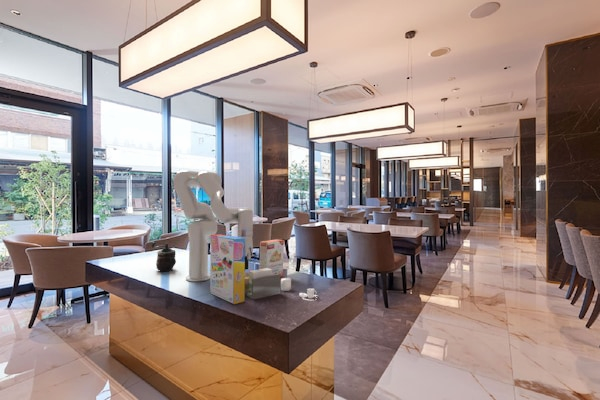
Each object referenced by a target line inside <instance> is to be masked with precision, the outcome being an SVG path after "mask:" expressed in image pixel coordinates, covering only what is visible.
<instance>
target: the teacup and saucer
mask: <svg viewBox="0 0 600 400" xmlns="http://www.w3.org/2000/svg"><path fill="white" fill-rule="evenodd" d="M317 293H318V292H317V291H316V290H315V288H307V289H306V293H305V292H299V294H298V296H299V297H300V298H301V299H302V300H305V301H309V302H310V301H311V302H312V301H313V299H315V300H314V301H317V299H316V298H314V297H316V296H318V295H317Z"/></svg>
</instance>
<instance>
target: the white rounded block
mask: <svg viewBox="0 0 600 400" xmlns="http://www.w3.org/2000/svg"><path fill="white" fill-rule="evenodd" d="M291 290H292V278H291V277H280V291H282V292H288V291H291Z"/></svg>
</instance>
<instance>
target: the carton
mask: <svg viewBox="0 0 600 400" xmlns="http://www.w3.org/2000/svg"><path fill="white" fill-rule="evenodd" d="M248 273H249V291H251V292H252V278H255V277H261V276H267V275H272V269H269V268H265V269H254V270H253V269H252V270H248Z"/></svg>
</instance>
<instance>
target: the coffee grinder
mask: <svg viewBox="0 0 600 400" xmlns="http://www.w3.org/2000/svg"><path fill="white" fill-rule="evenodd" d="M155 245H157V243H156V242H155V241H153V242H151V247H152V249H157V248H159V247H162V249H161V250H158V251H157V257H156V262H155V264H156V269H157V271H159V270H160V271H159V272H161V271H164V272H169V270H173V269H174V267H175V265H176V263H177V261H176V251H175V250H173V249H172V248H170V247H169V243H168V242H166V243H165V244H160V245H157V246H155ZM163 247H164V248H163Z"/></svg>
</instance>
